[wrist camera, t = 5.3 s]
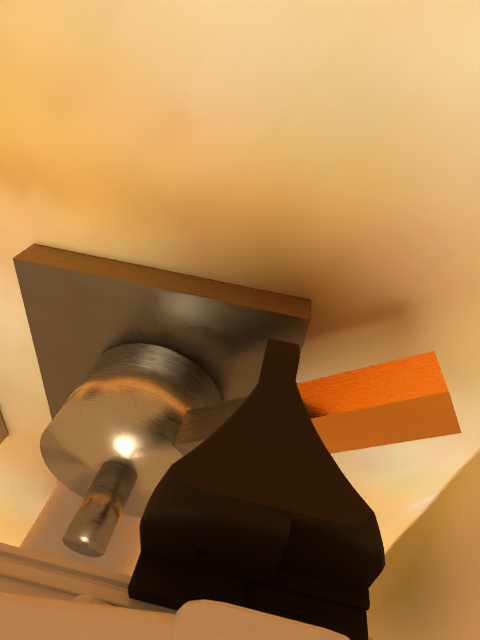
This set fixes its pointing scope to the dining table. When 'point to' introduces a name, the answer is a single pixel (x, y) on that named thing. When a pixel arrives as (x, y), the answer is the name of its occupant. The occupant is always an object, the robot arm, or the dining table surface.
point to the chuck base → (147, 319)
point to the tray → (2, 430)
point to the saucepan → (210, 425)
